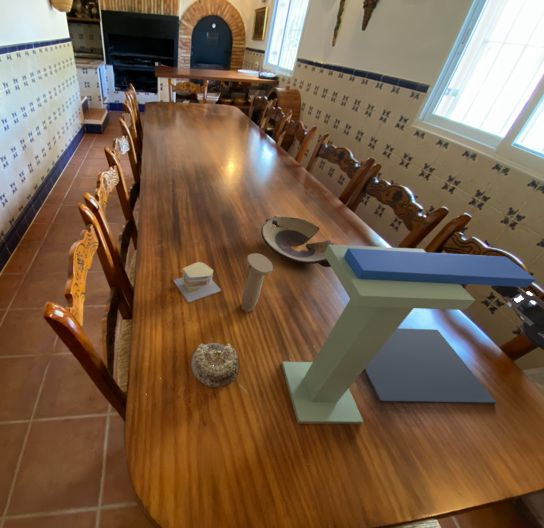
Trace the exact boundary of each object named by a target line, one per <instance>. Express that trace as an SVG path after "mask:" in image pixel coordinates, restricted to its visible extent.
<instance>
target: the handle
mask: <svg viewBox="0 0 544 528" xmlns="http://www.w3.org/2000/svg"><path fill="white" fill-rule="evenodd" d="M246 265H247V268H248V270H249V273H248V276H247V279H246V281H245V285H244V287H243V291H242V296H241V310H242V311H244V312H246V313H251V312H253V311H254V310H255V307H256V305H257V304H258V302H259V299H260V295H261V291H262V288H263V282H264V278H265V276H269V275H271V274H272V273H273V270H274V266H273V263H272V262H271V260H270V259H269V258H268V257H267V256H265V255H263V254H261V253H258V252H256V253H250V254H248V255H247V257H246Z"/></svg>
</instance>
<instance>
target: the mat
mask: <svg viewBox="0 0 544 528" xmlns="http://www.w3.org/2000/svg"><path fill="white" fill-rule="evenodd" d="M363 372H364V374H365V377H366V378H367V380H368V382H369V384H370V386H371V388H372V390H373V392H374V394H375V396H376V398H377V400H378V401H379V403H404V404H405V403H412V404H413V403H414V404H473V405H475V404H476V405H477V404H481V405H496V404H497V401H496V400H495V399H494V398H493V396H492V395H491V394H490V393H489V392H488V390H487V389H486V388H485V386H484V385H483V384H482V383H481V381H480V380H479V379H478V378H477V376H476V375H475V374H474V373H473V371H472V370H471V369H470V368H469V367H468V365H467V364H466V363H465V361H464V360H463V359H462V358H461V357H460V355H459V354H458V353H457V351H455V349H454V348H453V347H452V346H451V344H450V343H449V342H448V341H447V340H446V338H445V337H444V336H443V334H442V333H441V331H439V329H435V328H433V329H431V328H403V327H402V328H399V327H398V328H397V329H396V331H395V332H394V333H393V334H392V336H391V337H390V338H389V339H388V340H387V342H386V343H385V344H384V345H383V347H382V348H381V349H380V350H379V352H378V353H377V354H376V355H375V356H374V358H373V359H372V360H371V361H370V363H369V364H368V365H367V366H366V368H365V369H364V370H363Z"/></svg>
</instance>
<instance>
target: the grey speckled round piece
mask: <svg viewBox="0 0 544 528" xmlns="http://www.w3.org/2000/svg"><path fill="white" fill-rule="evenodd" d="M190 368H191V371H192V374H193V375H194V376H195V378H196V379H197V380H198V381H199V382H200V383H201V384H203V385H205V386H207V387H210V388H214V389H215V388H218V389H219V388H224V387H225V386H226V387H227V386H228V385H230V384H232V383H233V382H234V381H235V379H236V378H237V376H238V374H239V370H240V365H239V356H238V353H237V351H236V349H235V348H234V347H233V346H232V345H231V344H230V343H227V344H226V345H224V344H220V343H216V342H214V343H213V342H210V343H206V344H204V343H200V344H198V346H197V348H196V349H195V351H194V352H193V354H192V357H191V359H190Z"/></svg>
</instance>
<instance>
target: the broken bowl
mask: <svg viewBox="0 0 544 528" xmlns="http://www.w3.org/2000/svg"><path fill="white" fill-rule="evenodd" d="M273 225H274V226H273ZM320 230H321V228H320V226H317V225H316V224H315V223H313V222H310V221H308V220H307V219H303V218H298V217H291V216H277V215H275V216H273V217H272V218H266V219H265V222H264V223H263V225H262V226H261V231H260V235H261V238H262V240H263V242H264V244H265V245H266V246H267V247H268V248H269V249H270V250H271V251H272V252H273V253H274V254H276V255H278V256H280V257H281V258H283V259H284V260H285V259H286V260H288V261H291V262H294V263H299V264H304V265H305V264H306V265H310V264H311V265H316V264H318V265H320V266H322V267H323V268H332V267H331V265H330V264H329V262H328V260H327V259H326V257H325V255H324V254H325V251H326V249H327V247H328V245H335V243H334V242H332V241H331V240H329V239H327V240H323V241H317V242H311V243H308V242H309V241H310V240H311V239H312V238H313V237H315V236H316V234H318V232H319V231H320ZM302 245H305V247H306V249H307V250H303V249H302V248H300V249H302V250H299V251H298V250H297V249H295V248H293V247H298V246H302Z"/></svg>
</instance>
